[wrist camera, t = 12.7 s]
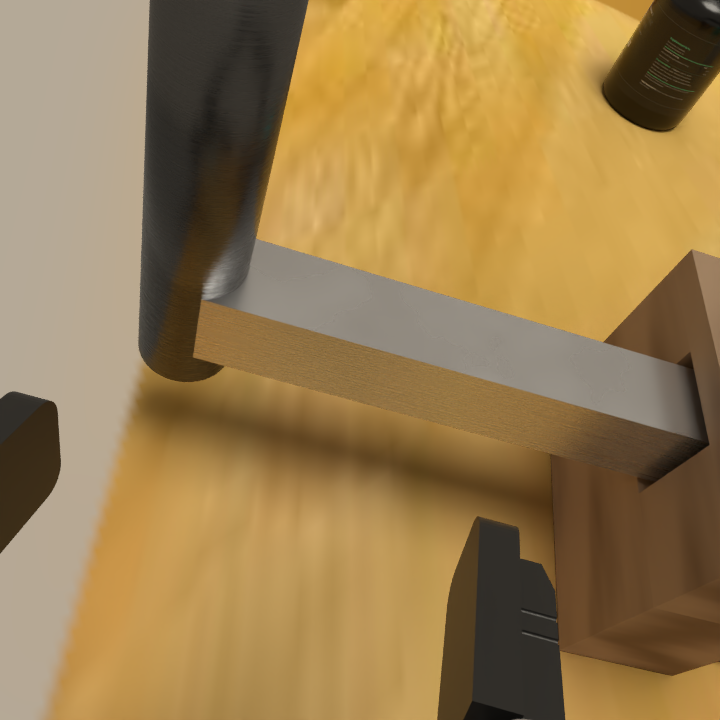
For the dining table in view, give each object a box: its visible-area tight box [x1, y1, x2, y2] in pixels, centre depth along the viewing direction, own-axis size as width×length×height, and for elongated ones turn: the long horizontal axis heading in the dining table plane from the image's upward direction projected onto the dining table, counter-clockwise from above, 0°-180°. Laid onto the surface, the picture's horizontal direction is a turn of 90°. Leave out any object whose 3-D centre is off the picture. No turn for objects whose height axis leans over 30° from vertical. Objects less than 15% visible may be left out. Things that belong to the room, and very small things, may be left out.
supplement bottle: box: [604, 0, 720, 130], centre depth 50 cm, size 7×7×12 cm
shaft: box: [139, 0, 710, 482], centre depth 20 cm, size 22×3×15 cm, turn 82°
